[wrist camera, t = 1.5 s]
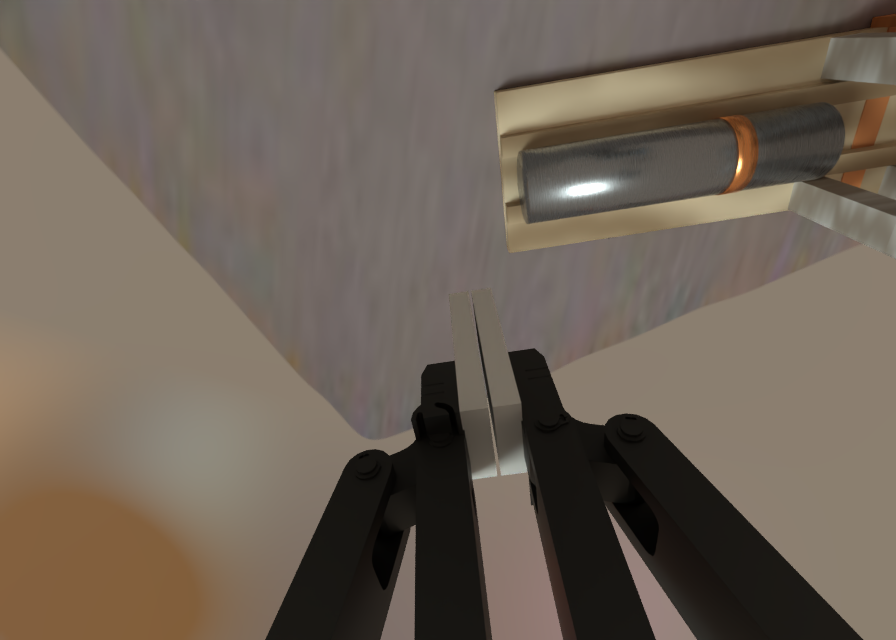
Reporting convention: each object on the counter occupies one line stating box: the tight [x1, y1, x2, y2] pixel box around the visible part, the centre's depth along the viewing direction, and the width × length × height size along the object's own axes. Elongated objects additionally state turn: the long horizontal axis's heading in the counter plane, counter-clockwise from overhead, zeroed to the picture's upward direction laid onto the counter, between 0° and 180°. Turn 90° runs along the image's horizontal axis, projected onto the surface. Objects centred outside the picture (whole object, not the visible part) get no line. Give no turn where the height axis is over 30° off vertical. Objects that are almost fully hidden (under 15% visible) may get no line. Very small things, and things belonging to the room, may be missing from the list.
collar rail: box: [494, 14, 896, 259], centre depth 29 cm, size 13×34×12 cm, turn 98°
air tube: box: [517, 102, 845, 224], centre depth 31 cm, size 20×5×5 cm, turn 98°
